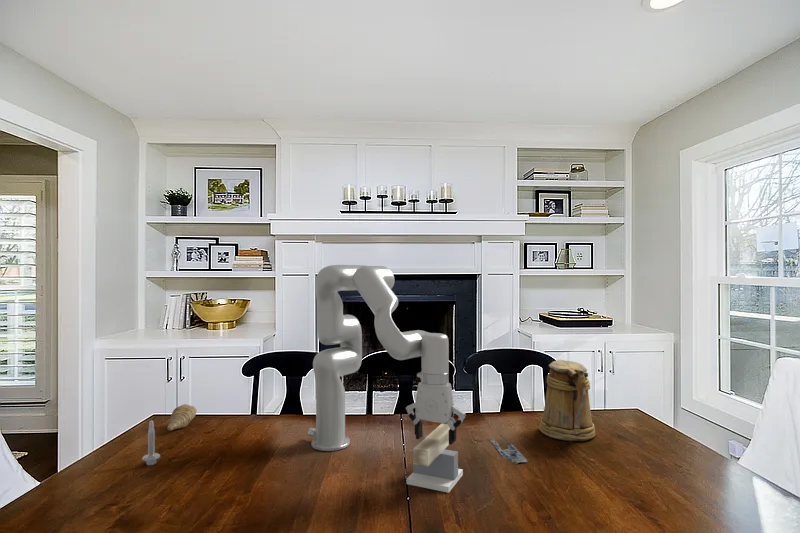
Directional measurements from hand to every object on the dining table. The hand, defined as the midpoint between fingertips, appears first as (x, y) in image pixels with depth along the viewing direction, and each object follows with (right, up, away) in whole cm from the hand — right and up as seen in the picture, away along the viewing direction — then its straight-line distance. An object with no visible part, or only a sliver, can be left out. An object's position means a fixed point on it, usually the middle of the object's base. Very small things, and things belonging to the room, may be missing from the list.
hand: (435, 440), depth 131 cm
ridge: (0, -11, 0) cm, 11 cm away
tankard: (+50, -11, +35) cm, 62 cm away
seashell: (-90, -12, +43) cm, 101 cm away
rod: (0, -3, 0) cm, 3 cm away
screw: (-84, -11, +11) cm, 86 cm away
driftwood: (+25, -12, +21) cm, 34 cm away
